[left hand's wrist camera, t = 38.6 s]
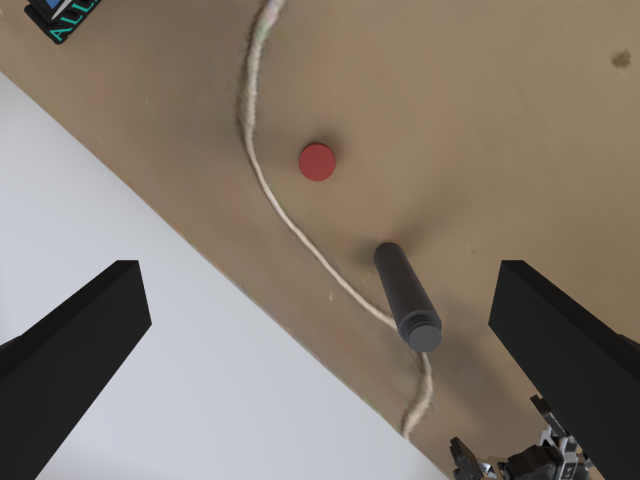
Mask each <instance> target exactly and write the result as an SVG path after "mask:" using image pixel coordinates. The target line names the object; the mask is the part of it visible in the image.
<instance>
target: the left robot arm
mask: <svg viewBox="0 0 640 480" xmlns="http://www.w3.org/2000/svg"><path fill="white" fill-rule="evenodd" d="M151 325H152V322H151V318H150V313H149V308H148V304H147V299H146V294H145V290H144V285H143V280H142V276H141V271H140V266H139V262H138V260H117V261H115V262H114V263H113V264H112V265H110V266H109V267H108V268H107V269H105V270H104V271H103V272H101V273H100V274H99V275H98V276H96V277H95V278H94V279H93V280H91V281H90V282H89V283H87V284H86V285H85V286H83V287H82V288H81V289H80V290H78V291H77V292H76V293H75V294H73V295H72V296H71V297H69V298H68V299H67V300H66V301H64V302H63V303H62V304H60V305H59V306H58V307H57V308H55V309H54V310H53V311H51V312H50V313H49V314H48V315H46V316H45V317H44V318H43V319H41V320H40V321H39V322H37V323H36V324H35V325H34V326H32V327H31V328H30V329H28V330H27V331H26V332H25V333H23V334H22V335H21V336H18V337H16V338H14V339H12V340H10V341H8V342H6V343H4V344H2V345H0V480H35V479H36V477H37V476H38V475H39V473H40V472H41V471H42V469H43V468H44V467H45V465H46V464H47V463H48V461H49V460H50V459H51V457H52V456H53V455H54V453H55V452H56V451H57V449H58V448H59V447H60V445H61V444H62V443H63V441H64V440H65V439H66V438H67V436H68V435H69V434H70V432H71V431H72V430H73V428H74V427H75V426H76V424H77V423H78V422H79V420H80V419H81V418H82V416H83V415H84V414H85V412H86V411H87V410H88V408H89V407H90V406H91V404H92V403H93V402H94V400H95V399H96V398H97V396H98V395H99V394H100V392H101V391H102V390H103V388H104V387H105V386H106V385H107V383H108V382H109V381H110V379H111V378H112V377H113V375H114V374H115V373H116V371H117V370H118V369H119V367H120V366H121V365H122V363H123V362H124V361H125V359H126V358H127V357H128V355H129V354H130V353H131V351H132V350H133V349H134V347H135V346H136V345H137V343H138V342H139V341H140V339H141V338H142V337H143V335H144V334H145V333H146V331H147V330H148V329H149V327H150V326H151ZM488 325H489V326H490V328H491V329H492V330H493V332H494V333H495V334H496V336H497V337H498V338H499V339H500V341H501V342H502V343H503V345H504V346H505V347H506V349H507V350H508V351H509V353H510V354H511V355H512V357H513V358H514V359H515V361H516V362H517V363H518V365H519V366H520V367H521V369H522V370H523V371H524V373H525V374H526V375H527V377H528V378H529V379H530V381H531V382H532V383H533V385H534V386H535V387H536V388H537V390H538V391H539V392H540V394H541V395H542V396H543V398H544V399H545V400H546V402H547V403H548V404H549V406H550V407H551V408H552V410H553V411H554V412H555V414H556V415H557V416H558V418H559V419H560V420H561V422H562V423H563V424H564V426H565V427H566V428H567V430H568V431H569V432H570V434H571V435H572V436H573V438H574V439H575V440H576V441H577V443H578V444H579V445H580V447H581V448H582V449H583V451H584V452H585V453H586V455H587V456H588V457H589V459H590V460H591V461H592V463H593V464H594V465H595V467H596V468H597V469H598V471H599V472H600V473H601V475H602V476H603V477H604V479H605V480H640V344H639V343H637V342H635V341H633V340H631V339H629V338H627V337H625V336H623V335H621V334H617V333H615V332H614V331H613V330H612V329H610V328H609V327H608V326H606V325H605V324H604V323H603V322H601V321H600V320H599V319H597V318H596V317H595V316H594V315H592V314H591V313H590V312H589V311H587V310H586V309H585V308H583V307H582V306H581V305H580V304H578V303H577V302H576V301H574V300H573V299H572V298H571V297H569V296H568V295H567V294H565V293H564V292H563V291H562V290H560V289H559V288H558V287H557V286H555V285H554V284H553V283H551V282H550V281H549V280H548V279H546V278H545V277H544V276H542V275H541V274H540V273H539V272H537V271H536V270H535V269H534V268H532V267H531V266H530V265H528V264H527V263H526V262H525V261H523V260H502V262H501V266H500V271H499V276H498V280H497V285H496V290H495V294H494V299H493V304H492V308H491V313H490V318H489V322H488Z"/></svg>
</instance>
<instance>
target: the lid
mask: <svg viewBox="0 0 640 480" xmlns="http://www.w3.org/2000/svg"><path fill="white" fill-rule="evenodd" d="M299 167H300V170H301V172H302V173H303V175H304V176H305V177H306V178H308V179H310V180H313V181H322V180H325V179H327V178H328V177H329V176H330V175H331V174H332V173H333V171H334V168H335V157H334V154H333V152H332V150H331V149H330V148H329V147H328V146H326V145H325V144H322V143H313V144H310V145H308V146H307V147H306V148H305V149H304V150H303V151H302V153H301V156H300V159H299Z"/></svg>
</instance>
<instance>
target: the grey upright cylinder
mask: <svg viewBox="0 0 640 480" xmlns="http://www.w3.org/2000/svg"><path fill="white" fill-rule="evenodd" d="M374 261H375V264H376V267H377V270H378V273H379V276H380V279H381V281H382V284H383V287H384V290H385V293H386V296H387V299H388V302H389V305H390V308H391V311H392V314H393V317H394V319H395V322H396V325H397V328H398V331H399V334H400V336H401V338H402V339H403V340H404V341H405V342H406V343H408V345H409V346H410V347H411V348H412V349H414V350H415V351H418V352H429V351H432V350H434V349H436V347H438V345H439V344H440V342H441V339H442V335H441V330H442V322H441V319H440V317H439V316H438V314H437V312H436V310H435V308H434V307H433V305H432V303H431V301H430V299H429V298H428V296H427V294H426V292H425V290H424V289H423V287H422V285H421V283H420V281H419V280H418V278H417V276H416V274H415V272H414V270H413V269H412V267H411V265H410V263H409V261H408V260H407V258H406V256H405V254H404V252H403V251H402V249H401V248H400V247H399V246H398V245H397V244H394V243H385V244H383V245H381V246H379V247H378V248H377V250H376V251H375V253H374Z"/></svg>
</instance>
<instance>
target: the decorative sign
mask: <svg viewBox="0 0 640 480" xmlns="http://www.w3.org/2000/svg"><path fill="white" fill-rule="evenodd" d="M28 1H29V2H30V4H29V5H27V6H26V7H25V9H24V11H25V13H26V14H27V15H28V16H29V17H30V18H31V19H32V20H33V21H34V22H35V23H36V25H37V26H38V27H39V28H40V29H41V30H42V31H43V32H44V33H45V34H46V35H47V36H48V37H49V38H51V39H52V40H53V41H54V42H55V44H57V45H58V44H61V43H63V42H64V41H65V40H66V35H65V34H70V33H72V32H73V31H74V30H75V29H76V27H77V26H78V25H79V24H80V23H81V22H82V21H83V20H84V19H85V17H86V16H87V15H88V14H89V13H90V12H91V11H92V10H93V9H94V8H95V6H96V5H97V4H98V3H99V2H100V1H101V0H28Z"/></svg>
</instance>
